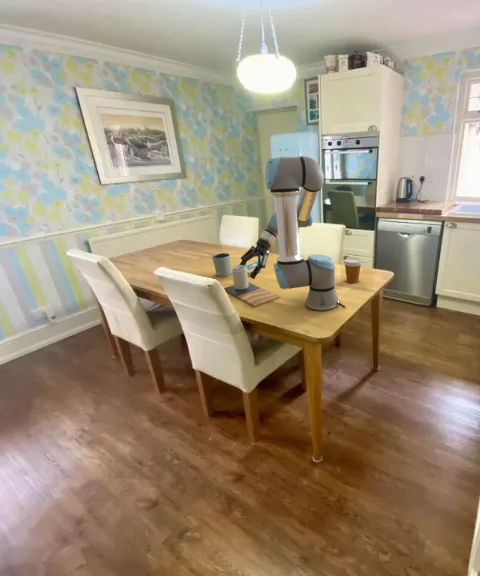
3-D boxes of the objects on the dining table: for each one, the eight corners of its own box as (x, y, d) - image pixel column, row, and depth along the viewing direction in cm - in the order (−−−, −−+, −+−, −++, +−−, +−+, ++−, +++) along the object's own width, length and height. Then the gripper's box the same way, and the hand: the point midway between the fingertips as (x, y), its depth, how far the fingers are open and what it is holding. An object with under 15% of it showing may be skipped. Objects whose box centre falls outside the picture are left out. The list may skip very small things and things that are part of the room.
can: (245, 291, 165) (242, 269, 160) (232, 290, 166) (228, 268, 161) (251, 285, 171) (248, 264, 167) (238, 284, 173) (235, 263, 168)
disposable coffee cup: (364, 280, 176) (365, 259, 172) (354, 285, 170) (354, 264, 166) (351, 276, 183) (351, 256, 178) (340, 281, 176) (340, 260, 172)
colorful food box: (258, 271, 196) (257, 261, 194) (259, 271, 195) (258, 261, 193) (243, 276, 187) (242, 266, 185) (245, 277, 186) (243, 267, 184)
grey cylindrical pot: (234, 271, 196) (232, 253, 191) (228, 277, 187) (226, 258, 182) (219, 271, 197) (216, 253, 192) (212, 277, 188) (209, 258, 183)
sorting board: (278, 297, 158) (278, 296, 158) (254, 307, 149) (254, 305, 149) (246, 282, 178) (246, 281, 178) (223, 290, 169) (223, 288, 169)
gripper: (284, 249, 166) (263, 284, 162) (257, 241, 182) (237, 273, 179) (275, 241, 160) (253, 277, 157) (248, 234, 177) (227, 266, 173)
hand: (244, 275), depth 168 cm, fingers open, 13 cm apart
